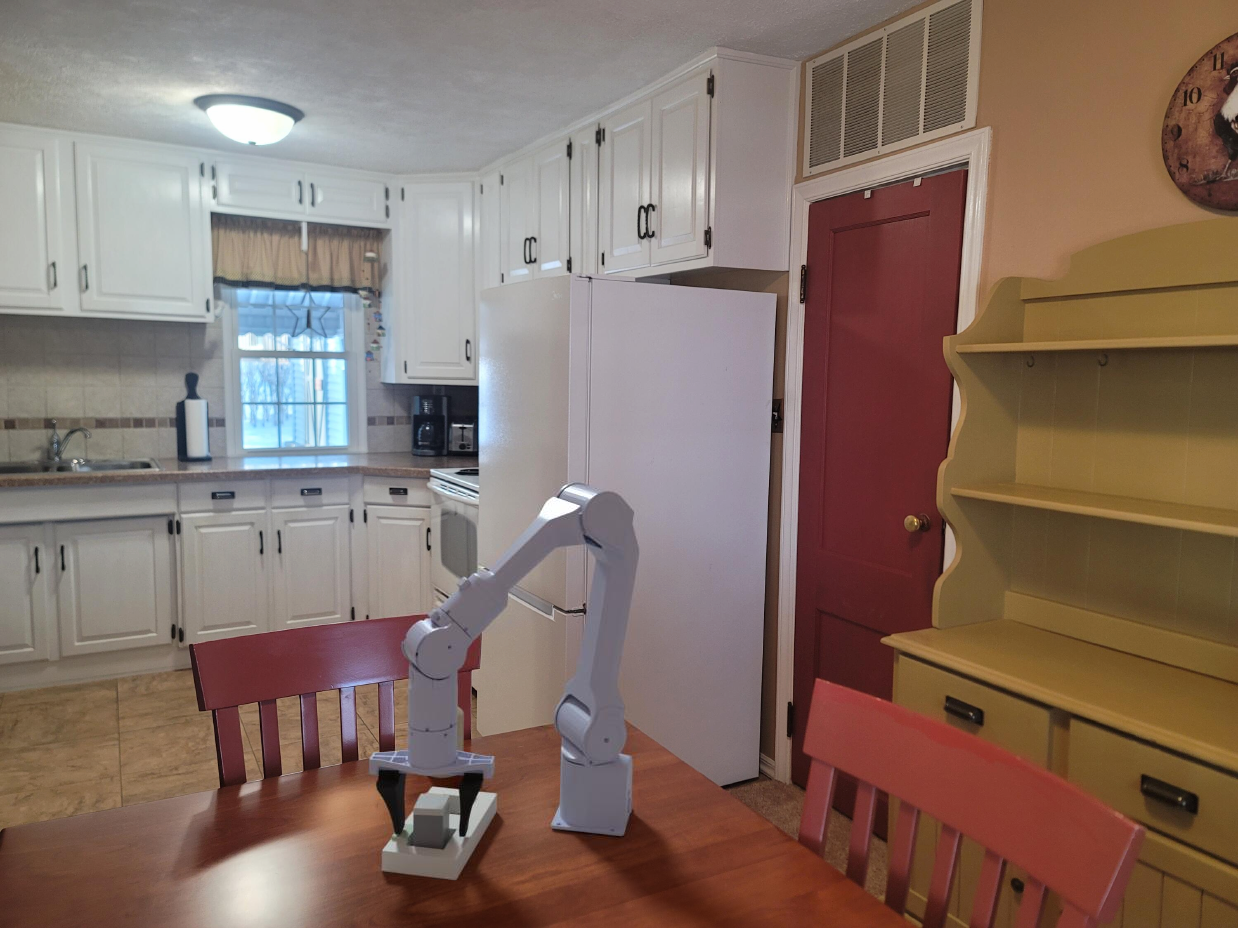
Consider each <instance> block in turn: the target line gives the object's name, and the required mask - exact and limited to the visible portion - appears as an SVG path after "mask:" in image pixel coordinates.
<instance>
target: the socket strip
mask: <svg viewBox="0 0 1238 928" xmlns="http://www.w3.org/2000/svg"><path fill="white" fill-rule="evenodd" d="M424 794H438V795H450V805H449V842H448V844H447V845H446V847H445V848H444V850H442V849H433V848H425V847H416V846H413V811H412V812H411V813H410V814H409V815H408V816H407V818H405V826H404V828H403V830H402V832H401V834H400V835H397V834H395V832H394V833H393V834H392V835H391V839H390V840H389V841H388V842H387V844H386V845H385V846H384V847H383V848H382V850H381V872H388V873H395V874H404V875H411V876H419V877H427V878H435V879H445V880H451V881H457V879H458V878H459V876H460V875H461V873H462V872H463V869H464V868H465V866H466V865H467V863H468V861H469V859H470V857H471V856H472V854H473V852H474V851H475V849H476V847H477V845H479V842H480V841H481V839H482V837H483V836H484V835H485V832H486V830H487V829H488V827H489V826H490V824H491V822H492V820H493V819H494V817H495V815H496V813H497V811H498V810H497V809H498V807H497V806H498V793H497V792H496V793H495V792H486V791H485V792H483V791H479V793H478V795H477V797H476V799H475V801H474V803H473V806H472V810H471V813H470V818H469V824H468V830H467V833H466V836H465V837H459V823H460V797H459V788H458V789H457V788H448V787H438V786H431V787H430V789H429V790H428V791H427V792H424Z"/></svg>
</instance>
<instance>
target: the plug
mask: <svg viewBox="0 0 1238 928" xmlns="http://www.w3.org/2000/svg"><path fill="white" fill-rule="evenodd" d="M449 805H450V795H438V794H425V793H420V795H419V796H418V798H417V800H416V802H415V804H414V806H413V807H412V809H413V810H412V812H413V846H416V847H425V848H433V849H442V850H444V848H445V847H446V845H447V844H448V842H449V814H450V813H449Z"/></svg>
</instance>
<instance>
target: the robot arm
mask: <svg viewBox="0 0 1238 928" xmlns="http://www.w3.org/2000/svg"><path fill="white" fill-rule="evenodd" d="M634 516H635V510H633V508H632V507H631V506H630V505H629V504H628V503H627V502H626V500H625V499H624V498H623V497H622V496H621V495H620V494H619V493H617V492H614V491H611V490H602V489H600V488H596V487H592V486H590V485H588V484H584V483H583V482H582V483H581V482H577V481H576V482H571V483H567V484H565V485H564V486H562V487H561V488H559V490H558V491H557V492H556V495H555V496H552V497H551V498H549V499H548V500H547V501H546V502H545V503H544V505H543V507H542V509H541V510H540V512H539V514H538V516H537V517H536V518H535V519H534V520H533V521H532V522H531V523H530V524H529V526H528V527H527V528H526V529H525V530H523V533H521V535H519V537H518V538H517V539H516V540H515V542H513V543H512V544H511V546H510V547H509V548H508V549H507V550H506V551H505V552H504V554H503V555H502V556H501V557H500V558H499V559H498V560H497V561H496V563H495V564H494V565H493V566H492V567H491V568H490V570H489V571H485V572H473V573H472V574H471V575H470V576H469V577H465V576H463V577H461V579H460V580H458V581H457V583H456V586H457V587H458V588H456V590H455V591H453V593H452V594H450V596H449V597H448V598H447V599H446V600H444V602H442V604H441V605H440V606H439V607H438V608H437V609H434V608H433V609H432V610H431V611H429V612H428V614H427V616H428V617H429V618H425V619H424V620H422V619H421V620H419V621H417V622H415V623H414V624H413V625H412V626H411V627H410V628H409V629H408V631H407V632H406V634H405V637H406V638H405V639H404V640H403V641H401V645H400V646H401V650H402V654H403V655H404V657H405V658H406V659H407V660H408V661H409V664H408V685H407V693H408V694H407V696H408V697H407V698H408V699H407V749H405V750H403V749H402V750H393V751H392V750H391V751H384V752H383V751H382V752H380V751H379V752H378V751H374V752H373V753H372V755H371V756H370V758H369V759H368V764H369V765H368V766H369V767H368V769H369V770H368V772H369V773H368V774H369V775H371V776H378V777H377V780H376V782H375V786H376V791H377V792H378V793H379V794H380V796H381V798H382V800H383V802H384V803H385V805H386V808H387V809H388V813H389V815H390V819H391V821H392V826H393V831H394V833H395V834H397V835H400V834H401V832H402V830H403V828H404V826H405V821H406V803H405V802H406V801H405V796H406V795H405V794H406V782H407V781H406V779H407V774H411V775H413V774H414V775H418V776H419V775H420V776H427V777H428V776H429V777H431V776H433V775H456V776H462V779H461V780H460V783H459V785H458V789H459V797H460V814H459V815H460V823H459V837H465V836H466V833H467V830H468V824H469V818H470V813H471V810H472V806H473V803H474V801H475V799H476V797H477V795H478V793H479V792H481V791H480V790H481V788H482V786H483V784H484V783H483V782H484V780H485V779H487V780H492V779H493V777H494V774H495V760H496V759H495V756H494V755H493V756H492V755H483V754H478V753H473V752H467V751H464V750H463V751H459V750H457V706H458V703H459V702H458V700H459V699H458V698H459V697H458V695H459V694H458V693H459V687H458V685H459V683H458V670H461V669H462V667H463V665H464V664H465V662H466V659H467V655H468V654H467V653H468V649H469V647H471V645H472V643H473V642H474V641H475V640H476V639H477V638H478V637H479V636H480V635H481V634H482V633H483V632H484V631H485V630H486V629H487V628H488V627H489V626H490V624H492V623H493V622H494V620H496V618H498V616H499V615H500V614H501V613H502V612H504V610H505V609H506V608H507V607H508V604H509V603H508V602H509V601H508V600H509V592H510V591H511V589H513V588H514V587H515V586H516V585H518V583H519V582H520V581H522V580H523V579H524V578H525V577H526V576H527V575H528V574H529V573H531V572H532V571H533V570H534V569H535V567H537V566H538V565H539V564H540V563H541V562H542V561H544V559H545V558H547V557H548V556H549V555H550V554H551V553H552V552H553V551H554V550H555V549H557V548H562V547H572V546H582V545H584V546H586V548H587V549H588V551H589V552H590V553H591V554H592V555H593V557H594V558H595V564H594V569H593V575H592V581H591V586H590V592H589V599H588V604H587V610H586V616H585V621H584V626H583V633H582V634H583V635H582V639H581V645H580V651H579V655H578V656H579V657H578V662H577V668H576V674H575V676H574V677H573V678H571V679H570V680H568V682H567V683H566V684H565V686H564V691H563V693H562V697H561V699H560V700H559V703H557V706H556V708H555V709H554V713H553V725H554V728H555V730H556V731H557V733H558V734H559V735H561V747H560V749H561V751H560V784H559V785H560V786H559V788H560V791H559V805H558V807H557V809H556V812H555V815H554V817H553V818H552V822H551V824H550V827H551V829H556V830H565V831H573V832H582V833H583V832H584V833H591V834H600V835H608V836H619V837H622V836H624V835H625V833H626V829H627V825H628V822H629V818H630V815H631V813H632V808H633V798H632V795H633V793H632V792H633V763H634V762H633V757H632V756H631V755H628V754H623V753H622V751H623V749H624V747H625V744H626V743H627V742H626V741H627V736H628V732H627V731H628V730H627V727H626V724H625V711H626V706H625V705H626V704H625V702H624V700H623V696H622V694H621V692H620V689H619V686H618V681H619V680H618V679H619V674H620V669H621V661H622V658H623V657H622V656H623V651H624V644H625V639H626V633H627V627H628V621H629V615H630V609H631V605H632V598H633V592H634V588H635V587H634V586H635V580H636V574H637V569H638V563H639V558H640V548H639V547H640V546H639V544H638V542H639V541H638V539H637V535H636V532H635V529H634V525H633V523H634V522H633V521H634Z"/></svg>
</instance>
